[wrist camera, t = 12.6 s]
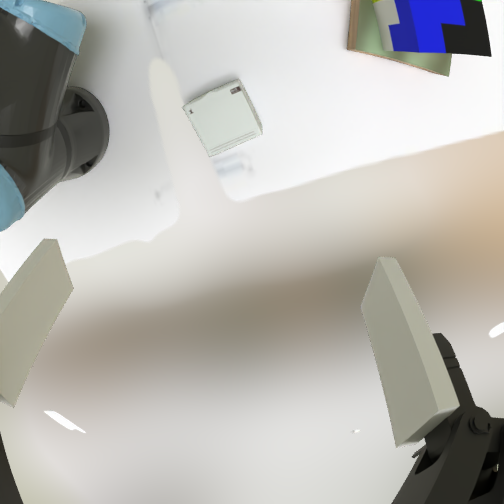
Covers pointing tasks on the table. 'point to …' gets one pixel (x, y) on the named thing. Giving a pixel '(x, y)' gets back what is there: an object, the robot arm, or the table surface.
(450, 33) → the puzzle toy
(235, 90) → the small box
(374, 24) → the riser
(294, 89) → the table surface
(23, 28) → the robot arm
